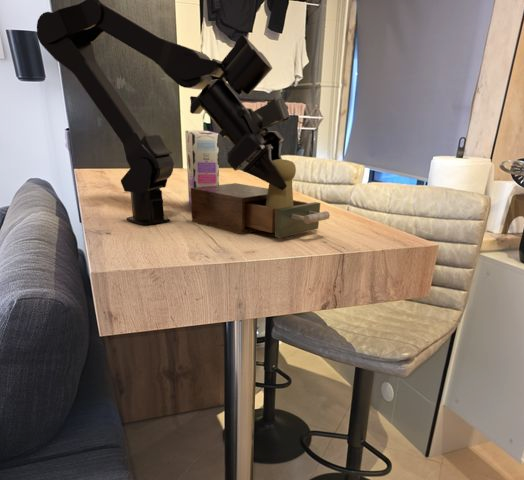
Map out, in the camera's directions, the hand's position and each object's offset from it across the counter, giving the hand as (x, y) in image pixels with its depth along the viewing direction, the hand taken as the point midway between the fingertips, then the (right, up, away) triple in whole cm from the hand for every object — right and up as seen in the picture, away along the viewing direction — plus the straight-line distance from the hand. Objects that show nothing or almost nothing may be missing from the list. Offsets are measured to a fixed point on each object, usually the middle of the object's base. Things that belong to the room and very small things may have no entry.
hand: (287, 186), depth 83 cm
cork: (-2, -6, +3) cm, 7 cm away
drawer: (-1, -7, +4) cm, 8 cm away
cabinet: (-10, -4, +11) cm, 15 cm away
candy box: (-19, +4, +26) cm, 32 cm away
